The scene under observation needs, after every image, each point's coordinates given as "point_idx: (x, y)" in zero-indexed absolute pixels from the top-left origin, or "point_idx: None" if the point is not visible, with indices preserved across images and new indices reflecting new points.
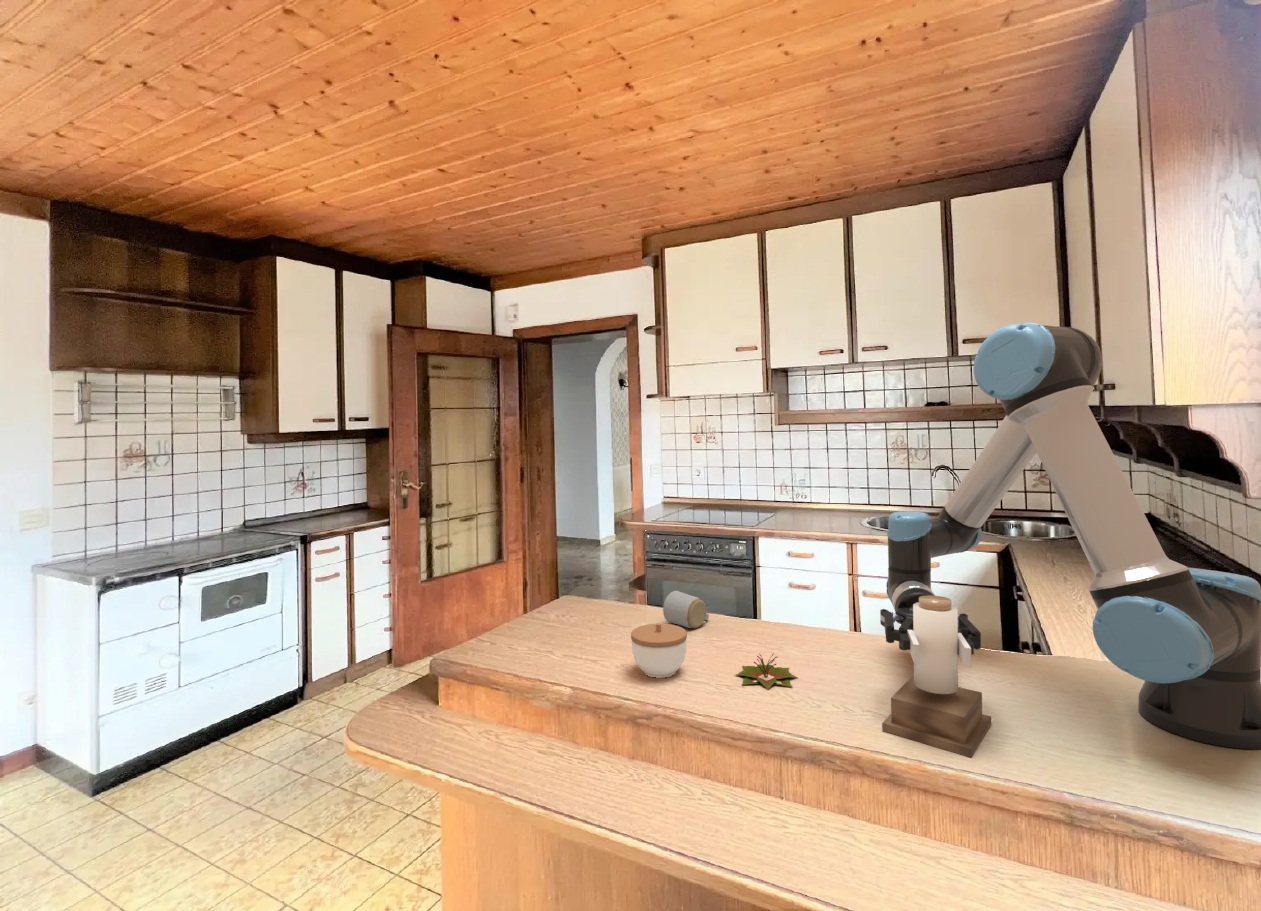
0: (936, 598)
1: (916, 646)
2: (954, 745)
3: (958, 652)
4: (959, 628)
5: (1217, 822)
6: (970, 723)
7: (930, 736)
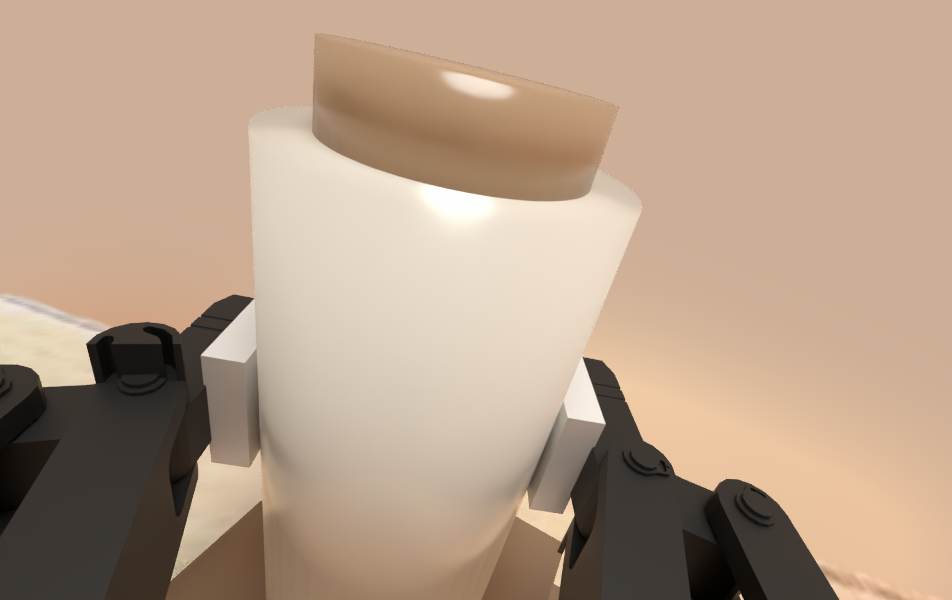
0: (451, 65)
1: None
2: None
3: None
4: (54, 488)
5: (8, 306)
6: None
7: None
